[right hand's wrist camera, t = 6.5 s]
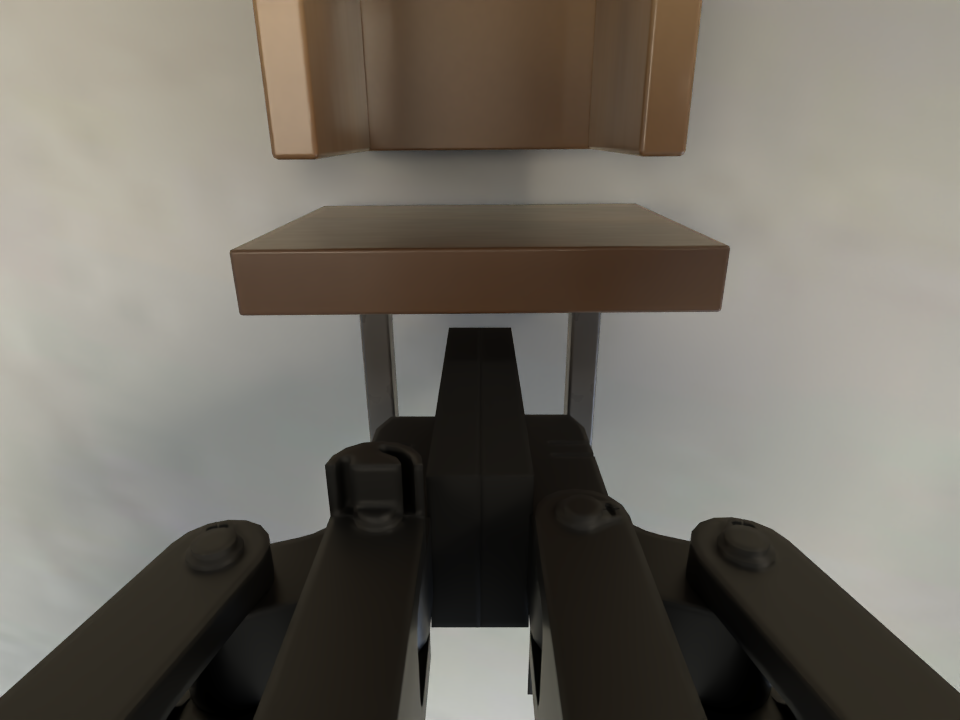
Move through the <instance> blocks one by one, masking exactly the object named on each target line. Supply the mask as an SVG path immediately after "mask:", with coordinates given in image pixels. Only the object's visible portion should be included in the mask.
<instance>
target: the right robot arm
mask: <svg viewBox="0 0 960 720" xmlns="http://www.w3.org/2000/svg"><path fill="white" fill-rule="evenodd" d="M325 470H326V479H327V488H328V497H329V506H330V515H331V517H330V519H329V522H328V525H327V527H326V528H325V529H323V530H320V531H318V532H316V533H314V534H310V535H307V536H303V537H300V538H295V539H291V540H286V541H281V542H277V543H272V544H270V539H269V534H268V533H267V532H266V531H265V530H264V529H263V527H262V526H261V525H258V524H255V523H252V522H249V521H247V520H226V521H220V522H215V523H210V524H207V525H204V526H202V527H200V528H197V529H195V530H192V531H190V532H188V533H186V534H185V535H183V536H182V537H181V538H179V539H178V540H176V541H175V542H173V543H172V544H171V545H170V546H169V547H167V548H166V549H165V550H164V551H163V552H162V553H161V554H160V555H159V556H157V557H156V558H155V559H154V560H153V561H152V562H151V563H150V564H149V565H147V566H146V567H145V568H144V569H143V570H142V571H141V572H140V573H139V574H137V575H136V576H135V577H134V578H133V579H132V580H131V581H130V582H129V583H127V584H126V585H125V586H124V587H123V588H122V589H121V590H120V591H118V592H117V593H116V594H115V595H114V596H113V597H112V598H111V599H110V600H108V601H107V602H106V603H105V604H104V605H103V606H102V607H101V608H100V609H98V610H97V611H96V612H95V613H94V614H93V615H92V616H91V617H90V618H88V619H87V620H86V621H85V622H84V623H83V624H82V625H81V626H80V627H78V628H77V629H76V630H75V631H74V632H73V633H72V634H71V635H70V636H68V637H67V638H66V639H65V640H64V641H63V642H62V643H61V644H60V645H58V646H57V647H56V648H55V649H54V650H53V651H52V652H51V653H49V654H48V655H47V656H46V657H45V658H44V659H43V660H42V661H41V662H39V663H38V664H37V665H36V666H35V667H34V668H33V669H32V670H31V671H29V672H28V673H27V674H26V675H25V676H24V677H23V678H22V679H21V680H19V681H18V682H17V683H16V684H15V685H14V686H13V687H12V688H11V689H9V690H8V691H7V692H6V693H5V694H4V695H3V696H2V697H1V698H0V720H425V716H426V705H427V693H428V682H429V671H430V660H431V649H430V623H431V622H432V627H528V625H529V619H530V649H529V674H528V694H533V704H534V715H535V720H960V693H959V692H958V691H957V690H956V689H955V688H953V687H952V686H951V685H950V684H949V683H948V682H947V681H946V680H945V679H943V678H942V677H941V676H940V675H939V674H938V673H937V672H936V671H934V670H933V669H932V668H931V667H930V666H929V665H928V664H927V663H925V662H924V661H923V660H922V659H921V658H920V657H919V656H918V655H916V654H915V653H914V652H913V651H912V650H911V649H910V648H909V647H907V646H906V645H905V644H904V643H903V642H902V641H901V640H900V639H899V638H897V637H896V636H895V635H894V634H893V633H892V632H891V631H890V630H888V629H887V628H886V627H885V626H884V625H883V624H882V623H881V622H879V621H878V620H877V619H876V618H875V617H874V616H873V615H872V614H870V613H869V612H868V611H867V610H866V609H865V608H864V607H863V606H861V605H860V604H859V603H858V602H857V601H856V600H855V599H854V598H853V597H851V596H850V595H849V594H848V593H847V592H846V591H845V590H844V589H842V588H841V587H840V586H839V585H838V584H837V583H836V582H835V581H833V580H832V579H831V578H830V577H829V576H828V575H827V574H826V573H824V572H823V571H822V570H821V569H820V568H819V567H818V566H817V565H815V564H814V563H813V562H812V561H811V560H810V559H809V558H808V557H807V556H805V555H804V554H803V553H802V552H801V551H800V550H799V549H798V548H796V547H795V546H794V545H793V544H792V543H791V542H790V541H788V540H787V539H786V538H784V537H783V536H781V535H780V534H778V533H777V532H775V531H774V530H772V529H770V528H768V527H765V526H763V525H760V524H758V523H755V522H753V521H749V520H745V519H744V520H743V519H739V518H733V517H726V518H712V519H709V520H706V521H703V522H700V523H699V524H698V525H697V526H696V528H695V529H694V530H693V531H692V534H691V540H690V541H686V540H681V539H677V538H672V537H667V536H663V535H659V534H655V533H652V532H648V531H645V530H643V529H641V528H639V527H637V526H634V525H633V524H632V521H631V518H630V516H629V514H628V513H627V511H626V510H625V509H624V507H623V506H622V505H621V504H620V503H618V502H617V501H615V500H614V499H612V498H611V497H609V496H608V494H607V491H606V488H605V485H604V482H603V479H602V477H601V474H600V471H599V468H598V465H597V462H596V459H595V457H593V451H592V448H591V445H590V444H589V439H588V437H587V434H586V431H585V428H584V426H582V425H581V424H580V423H579V422H578V421H576V420H575V419H574V418H573V417H572V416H570V415H525V414H524V407H523V401H522V394H521V388H520V382H519V375H518V369H517V363H516V356H515V350H514V343H513V337H512V331H511V328H449V332H448V338H447V344H446V351H445V357H444V363H443V370H442V376H441V383H440V389H439V395H438V402H437V408H436V415H435V417H390V418H389V419H387V420H386V421H385V422H384V423H383V424H381V425H380V426H379V427H378V428H377V429H376V431H375V434H374V437H373V439H372V442H366V443H361V444H357V445H354V446H351V447H347V448H345V449H343V450H342V451H340V452H338V453H337V454H335V455H333V456H332V457H331V459H330V460H329V461H328V462H327V463H326V465H325Z"/></svg>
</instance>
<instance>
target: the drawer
mask: <svg viewBox="0 0 960 720" xmlns="http://www.w3.org/2000/svg"><path fill="white" fill-rule="evenodd" d="M252 1H253V9H254V16H255V24H256V32H257V40H258V47H259V55H260V63H261V71H262V79H263V86H264V94H265V102H266V110H267V117H268V125H269V133H270V141H271V149H272V155H273V157H274V158H276V159H278V160H289V159H319V158H326V157H332V156H338V155H345V154H351V153H357V152H363V151H403V150H517V149H595V150H602V151H609V152H616V153H623V154H630V155H637V156H681V155H683V154H684V152H685V150H686V142H687V133H688V124H689V115H690V106H691V97H692V88H693V79H694V70H695V61H696V52H697V43H698V34H699V25H700V17H701V8H702V0H252ZM729 251H730V248H729V246H727V245H725V244H723V243H721V242H719V241H716V240H714V239H712V238H710V237H708V236H705V235H703V234H701V233H699V232H697V231H694V230H692V229H690V228H688V227H686V226H683V225H681V224H679V223H677V222H675V221H672V220H670V219H668V218H666V217H664V216H662V215H659V214H657V213H655V212H653V211H651V210H648V209H646V208H644V207H642V206H640V205H637V204H531V205H413V206H324V207H322V208H320V209H317V210H315V211H313V212H311V213H309V214H307V215H305V216H303V217H300V218H298V219H296V220H294V221H292V222H290V223H288V224H286V225H283V226H281V227H279V228H277V229H275V230H273V231H271V232H269V233H266V234H264V235H262V236H260V237H258V238H256V239H254V240H252V241H249V242H247V243H245V244H243V245H241V246H239V247H237V248H234V249H232V250H230V258H231V264H232V270H233V276H234V282H235V288H236V294H237V301H238V307H239V313H240V315H356V314H360V325H361V337H362V349H363V360H364V372H365V384H366V395H367V407H368V418H369V430H370V442H372V439H373V437H374V434H375V431H376V429H377V428H378V427H379V426H380V425H381V424H383V423H384V422H385V421H386V420H387V419H389V418H390V417H399V414H398V398H397V383H396V367H395V352H394V337H393V321H392V314H484V313H569V315H568V336H567V356H566V377H565V398H564V415H570V416H572V417H573V418H574V419H575V420H576V421H578V422H579V423H580V424H581V425H582V426H584V428H585V431H586V434H587V437H588V439H589V444H590V445H591V448H592V435H593V421H594V406H595V392H596V377H597V363H598V348H599V334H600V319H601V313H611V312H718V311H720V310H721V306H722V300H723V293H724V286H725V279H726V272H727V265H728V258H729Z"/></svg>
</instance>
